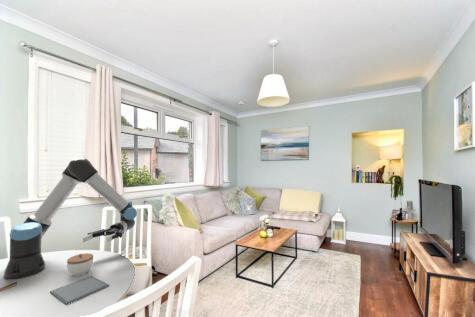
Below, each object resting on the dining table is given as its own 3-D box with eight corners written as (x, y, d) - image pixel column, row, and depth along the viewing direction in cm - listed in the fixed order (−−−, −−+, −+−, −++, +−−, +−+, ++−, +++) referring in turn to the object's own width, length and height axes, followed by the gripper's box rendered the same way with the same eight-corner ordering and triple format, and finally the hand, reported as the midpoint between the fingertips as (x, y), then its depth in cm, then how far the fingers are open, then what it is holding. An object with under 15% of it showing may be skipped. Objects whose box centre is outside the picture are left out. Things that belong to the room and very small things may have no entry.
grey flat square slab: (49, 292, 94) (49, 291, 94) (91, 276, 108) (91, 275, 108) (66, 305, 85) (66, 303, 85) (109, 286, 99) (109, 284, 99)
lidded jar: (79, 279, 105) (80, 259, 106) (61, 277, 107) (61, 257, 108) (98, 269, 116) (98, 250, 116) (80, 267, 118) (81, 249, 118)
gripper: (137, 234, 143) (117, 246, 121) (99, 234, 144) (73, 246, 123) (137, 222, 143) (117, 232, 122) (99, 222, 144) (73, 233, 123)
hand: (95, 239), depth 122 cm, fingers open, 13 cm apart
